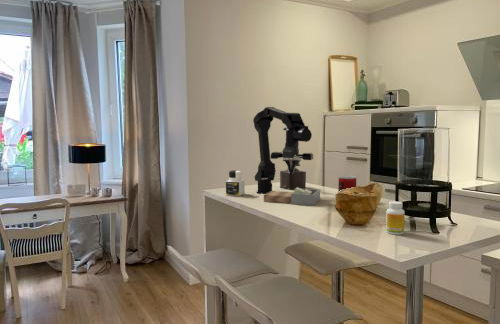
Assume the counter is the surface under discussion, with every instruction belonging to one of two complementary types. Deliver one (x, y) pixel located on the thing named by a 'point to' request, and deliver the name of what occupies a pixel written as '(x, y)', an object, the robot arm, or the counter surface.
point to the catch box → (306, 198)
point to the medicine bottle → (235, 184)
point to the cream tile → (307, 192)
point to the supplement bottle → (395, 218)
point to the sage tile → (298, 191)
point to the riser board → (278, 197)
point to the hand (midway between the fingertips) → (291, 174)
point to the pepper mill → (293, 179)
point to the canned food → (346, 182)
